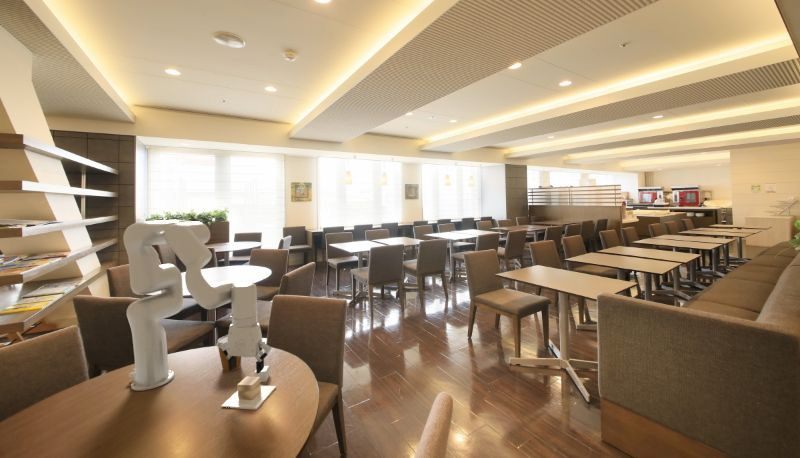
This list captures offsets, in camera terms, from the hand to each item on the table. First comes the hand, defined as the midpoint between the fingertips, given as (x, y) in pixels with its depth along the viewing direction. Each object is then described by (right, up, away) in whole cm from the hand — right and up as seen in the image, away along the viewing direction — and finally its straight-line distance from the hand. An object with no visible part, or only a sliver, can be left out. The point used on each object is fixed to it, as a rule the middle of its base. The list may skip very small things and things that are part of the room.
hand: (246, 370), depth 107 cm
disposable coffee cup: (-16, -8, +21) cm, 27 cm away
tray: (+1, -9, +1) cm, 9 cm away
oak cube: (+1, -9, 0) cm, 9 cm away
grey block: (0, -9, +12) cm, 14 cm away
